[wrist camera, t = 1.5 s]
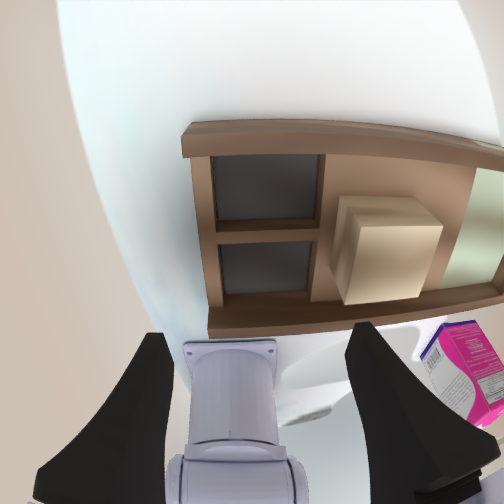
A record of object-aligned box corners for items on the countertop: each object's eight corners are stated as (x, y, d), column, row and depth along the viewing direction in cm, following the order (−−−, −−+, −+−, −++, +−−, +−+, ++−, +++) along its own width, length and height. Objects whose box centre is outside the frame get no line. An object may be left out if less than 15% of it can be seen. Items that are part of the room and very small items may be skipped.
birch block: (396, 263, 20) (418, 296, 17) (329, 267, 19) (344, 305, 16) (413, 197, 17) (443, 225, 14) (339, 195, 17) (361, 226, 14)
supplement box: (453, 351, 30) (489, 426, 21) (418, 357, 30) (453, 442, 20) (476, 317, 27) (522, 397, 17) (441, 322, 26) (488, 413, 17)
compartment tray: (485, 279, 23) (503, 302, 21) (211, 302, 23) (209, 339, 20) (527, 154, 16) (555, 171, 13) (191, 122, 15) (180, 136, 12)
